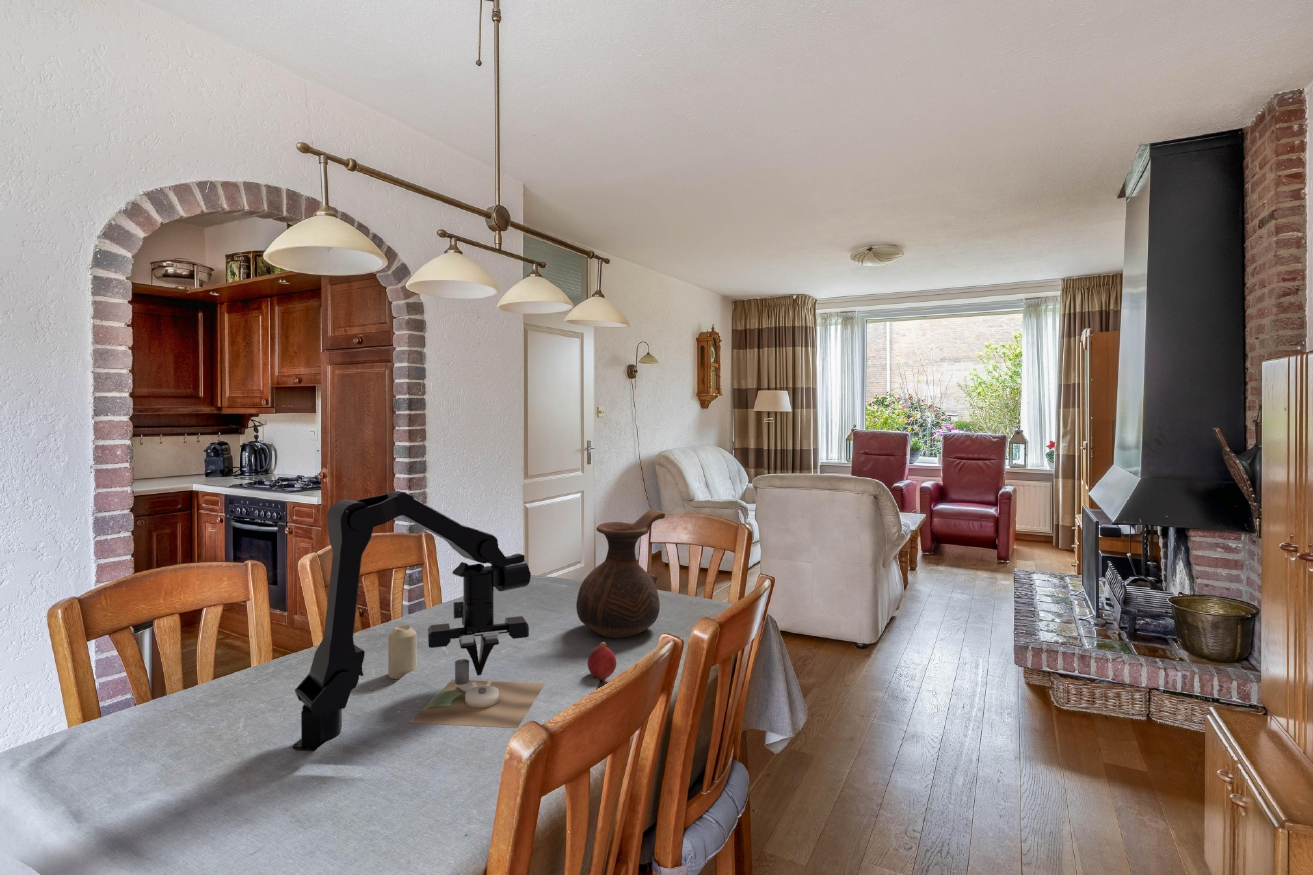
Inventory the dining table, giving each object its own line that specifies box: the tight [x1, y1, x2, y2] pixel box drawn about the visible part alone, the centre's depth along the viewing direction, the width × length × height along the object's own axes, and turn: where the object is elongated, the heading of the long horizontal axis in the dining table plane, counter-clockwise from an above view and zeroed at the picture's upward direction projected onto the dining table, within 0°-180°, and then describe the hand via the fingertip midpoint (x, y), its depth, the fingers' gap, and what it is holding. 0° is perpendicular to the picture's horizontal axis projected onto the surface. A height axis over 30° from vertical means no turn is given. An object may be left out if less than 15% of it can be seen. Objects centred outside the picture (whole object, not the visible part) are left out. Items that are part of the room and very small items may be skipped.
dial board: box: [409, 679, 546, 729], centre depth 124 cm, size 19×19×2 cm
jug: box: [576, 509, 666, 639], centre depth 169 cm, size 22×22×30 cm
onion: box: [587, 641, 617, 682], centre depth 137 cm, size 6×6×8 cm
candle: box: [387, 624, 417, 680], centre depth 139 cm, size 6×6×10 cm
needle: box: [454, 658, 499, 708], centre depth 126 cm, size 12×6×5 cm, turn 45°
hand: (478, 674), depth 130 cm, fingers closed
